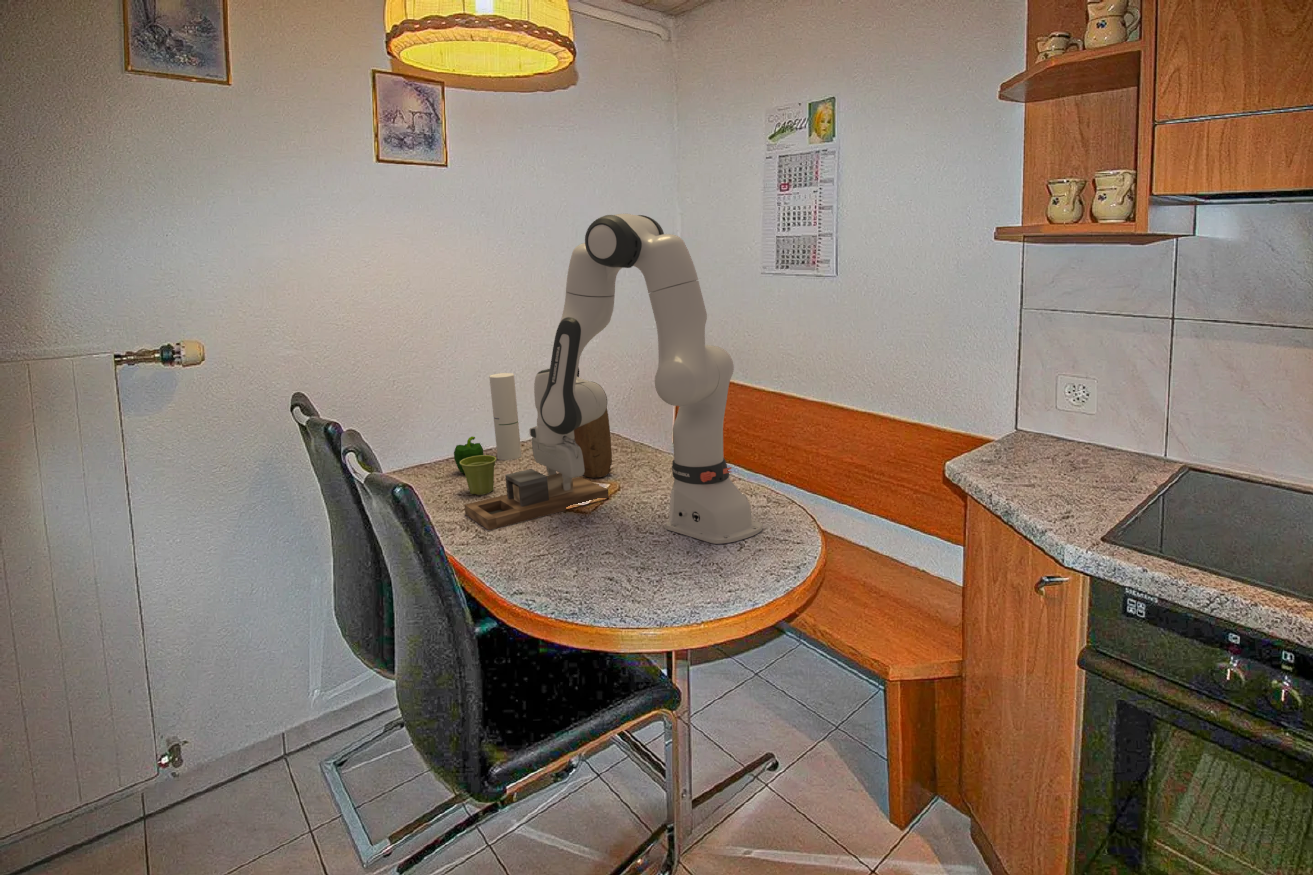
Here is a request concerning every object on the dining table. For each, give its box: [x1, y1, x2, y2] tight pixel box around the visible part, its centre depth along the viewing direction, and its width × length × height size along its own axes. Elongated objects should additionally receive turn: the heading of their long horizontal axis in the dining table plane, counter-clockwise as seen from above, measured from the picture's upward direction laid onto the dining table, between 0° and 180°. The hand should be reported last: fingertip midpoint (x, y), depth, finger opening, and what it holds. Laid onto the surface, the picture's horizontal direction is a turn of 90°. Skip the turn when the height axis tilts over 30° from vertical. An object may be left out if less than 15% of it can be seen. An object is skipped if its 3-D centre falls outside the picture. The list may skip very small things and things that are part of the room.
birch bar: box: [513, 472, 573, 503], centre depth 195 cm, size 4×14×4 cm, turn 125°
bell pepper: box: [453, 436, 484, 474], centre depth 225 cm, size 8×8×10 cm
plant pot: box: [460, 454, 497, 496], centre depth 208 cm, size 9×9×9 cm
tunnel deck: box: [464, 468, 610, 531], centre depth 194 cm, size 14×32×8 cm, turn 125°
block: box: [574, 408, 613, 479], centre depth 217 cm, size 11×8×20 cm
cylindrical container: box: [489, 372, 523, 461], centre depth 237 cm, size 7×7×25 cm
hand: (560, 486), depth 198 cm, fingers closed on birch bar, 4 cm apart
